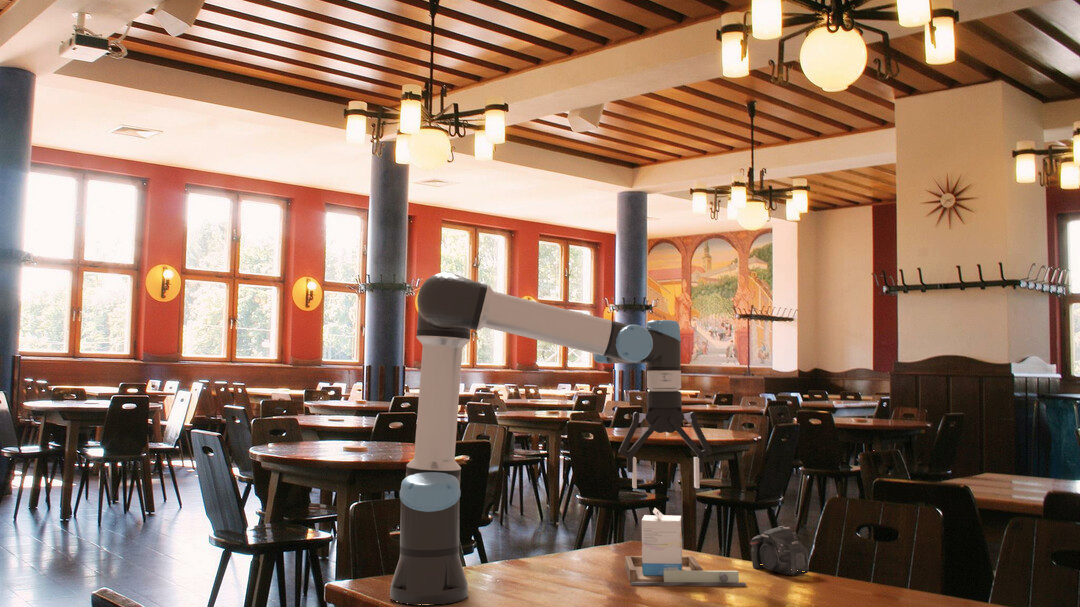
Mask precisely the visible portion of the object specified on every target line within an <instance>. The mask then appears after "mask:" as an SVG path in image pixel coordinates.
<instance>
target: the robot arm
mask: <svg viewBox="0 0 1080 607" xmlns="http://www.w3.org/2000/svg"><path fill="white" fill-rule="evenodd" d="M416 298H417V300H416V301H417V303H416V304H417V322H416V337H415V338H416V339H417V340H418V342H419V343H420V344H421V346H422V351H421V364H420V377H419V392H418V403H417V404H418V405H417V418H416V432H415V445H414V457H413V458H412V459H411V460H410V461H409V462H408V463H406V469H405V470H406V471H405V477H404V479H403V478H402V481H401V485H400V489H399V499H400V513H399V515H400V516H399V517H400V518H399V519H400V521H399V522H400V523H399V526H400V527H399V528H400V530H399V559H398V562H397V565H396V568H395V571H394V575H393V577H392V579H391V584H390V588H389V591H390V592H389V594H390V595H389V598H390V597H391V598H392V599H393V600H395V601H398V602H402V603H408V604H421V605H420V606H423V605H422V604H442V605H447V603H449V604H453V603H457V602H460V601H464V600H465V599H466V598H467V597H469V596H468V594H469V588H468V587H469V585H468V581H467V577H466V574H465V570H464V567H463V564H462V561H461V557H460V511H461V510H460V507H461V506H460V503H461V502H460V498H461V493H462V491H461V474H462V473H461V472H462V471H461V470H462V467H461V466H460V465H459V463H458V462H457V461H456V459H455V458H456V457H455V455H456V446H457V445H456V444H457V432H458V430H457V429H458V428H457V427H458V417H459V415H458V414H459V403H460V402H459V400H460V390H461V389H460V385H461V376H462V375H461V372H462V362H463V361H462V360H463V359H462V358H463V350H464V347H465V346H466V345H467V344H469V342H471V331H472V330H474V331H480V330H482V329H484V328H486V329H490V330H494V331H498V332H503V333H507V334H511V335H516V336H520V337H524V338H528V339H532V340H537V341H541V342H545V343H549V344H553V345H557V346H560V347H565V348H570V349H574V350H579V351H582V352H587V353H590V354H592V356H593V360H594V362H596V363H597V364H607V365H611V364H646V388H647V389H649V391H648V392H646V396H647V397H646V400H647V402H646V405H647V406H646V408H647V410H646V412H645V413H640V412H637V411H635V412H633V414H632V421H631V425H630V426H629V428H628V430H627V433H626V435H625V436H624V437H623V440H622V443H621V445H620V447H619V449H618V453H619V455H621V456H624V457H626V470H627V473H631V479H632V480H631V482H632V484H631V485H632V486H631V487H632V488H633V489H637V488H638V486H637V485H638V484H637V483H638V482H637V481H638V479H637V477H638V476H637V473H638V472H637V467H638V466H637V458H636V457H635V454H636V453H637V452H638V451H639V449H641V447H642V446H643V445H644V443H645V442H646V441H647V440H648V438H650V436H651V435H653V433H654V432H655V433H658V434H662V433H668V434H674V433H675V432H676V433H677V434H678V435H679V436H680V437H681V439H683V441H684V443H686V444H687V446H689V448H690V449H691V450H692V451H693V453H694V454H696V456H693V488H695V489H700V473H704V471H705V457H707V456H711V455H712V454H713V450H712V448H711V445H710V444H709V442H708V440H707V438H706V437H705V436H706V435H705V434H704V432H703V430H702V429H701V426H700V424H699V423H698V417H697V415H698V414H697V413H696V412H694V411H690V412H687V413H686V412H685V413H684V412H683V406H682V405H683V403H682V402H683V401H682V392H681V391H679V390H680V389H682V371H681V369H682V368H681V366H682V364H681V363H682V357H681V356H682V354H681V353H682V352H681V351H682V350H681V349H682V347H681V346H682V345H681V343H682V338H681V326H680V324H679V322H678V321H676V320H671V319H661V320H658V319H656V320H649V321H647V322H646V326H642V325H638V324H635V323H633V324H627V323H622V322H619V321H613V320H611V319H607V318H603V317H600V316H599V317H598V316H594V315H591V314H587V313H582V312H579V311H574V310H570V309H567V308H562V307H560V306H559V307H558V306H554V305H550V304H545V303H542V302H538V301H534V300H530V299H525V298H522V297H519V296H513V295H510V294H506V293H502V292H498V291H494V290H493V289H492V287H491V286H490V284H486V283H481V282H479V281H476V280H472V279H469V278H467V277H464V276H461V275H458V274H455V273H453V272H439V273H436V274H433V275H432V276H429V277H428V278H427V279H426V280H425V281H423V283H422V285H421V287H420V288H419V290H418V293H417V297H416ZM684 419H685V420H686V421H687V422H688V423H690V425H691V427H692V429H693V432H694V433H695V435H696V438H697V440H698V441H699V443H700V445H701V447H702V449H703V450H702V449H701V448H700V447H699V446H698V445H697V444H696V442H694V440H693V439H692V438H691V437H690V436H689V434H687V432H686V431H685V430H684V428H682V426H681V424H682V423H683V421H684ZM643 420H646V421H647V423H648V426H647V428H645V430H644V431H643V433H642V434H641V436H639V437H638V439H637V440H636V441H635V442H634V444H633V445H632V446H631V447H630V448H629V450H627V449H628V447H629V445H630V443H631V441H632V439H633V437H634V434H635V433H636V431H637V428H638V427H639V424H640V423H643ZM391 598H390V599H391ZM393 600H392V601H393ZM395 601H394V602H395ZM398 602H397V603H398ZM402 603H401V604H402ZM408 604H407V605H408Z"/></svg>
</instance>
